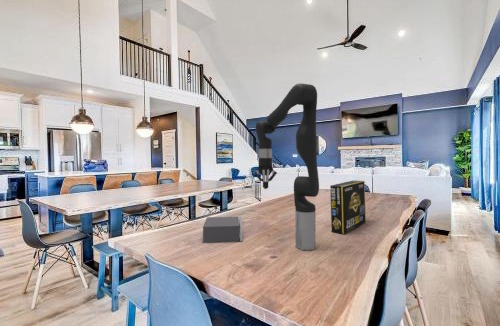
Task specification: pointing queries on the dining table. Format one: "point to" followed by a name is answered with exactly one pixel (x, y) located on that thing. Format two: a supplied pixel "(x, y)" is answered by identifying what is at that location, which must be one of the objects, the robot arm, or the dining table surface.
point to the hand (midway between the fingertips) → (265, 188)
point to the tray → (240, 229)
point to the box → (347, 206)
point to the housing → (221, 229)
